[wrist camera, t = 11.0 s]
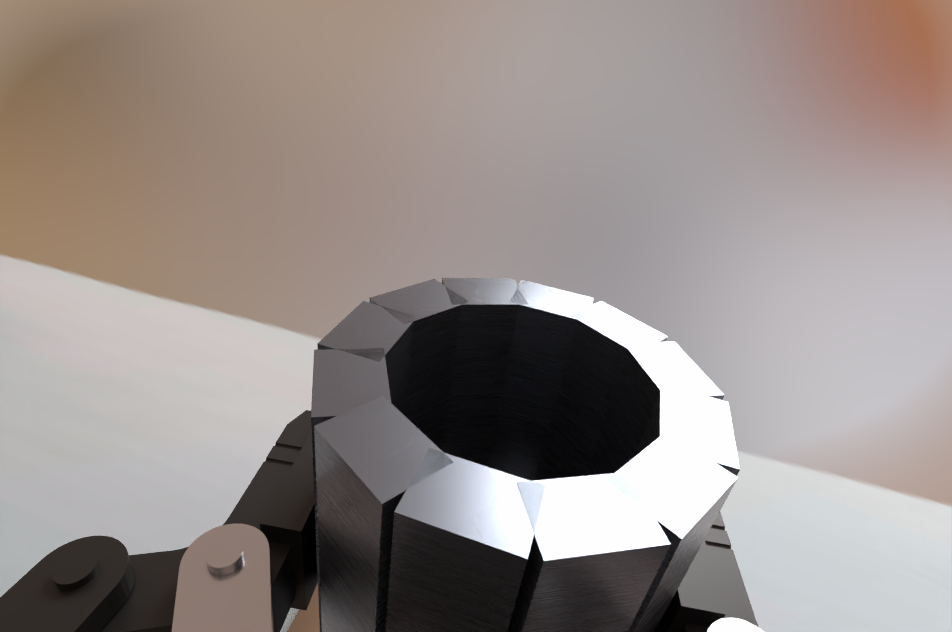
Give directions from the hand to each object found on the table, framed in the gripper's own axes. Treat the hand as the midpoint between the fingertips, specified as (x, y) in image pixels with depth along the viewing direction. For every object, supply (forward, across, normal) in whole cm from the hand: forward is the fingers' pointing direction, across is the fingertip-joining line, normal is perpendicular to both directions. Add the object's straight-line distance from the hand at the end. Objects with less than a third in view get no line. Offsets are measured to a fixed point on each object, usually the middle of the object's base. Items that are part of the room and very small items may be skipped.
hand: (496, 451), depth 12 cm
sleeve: (-2, 0, +6) cm, 6 cm away
